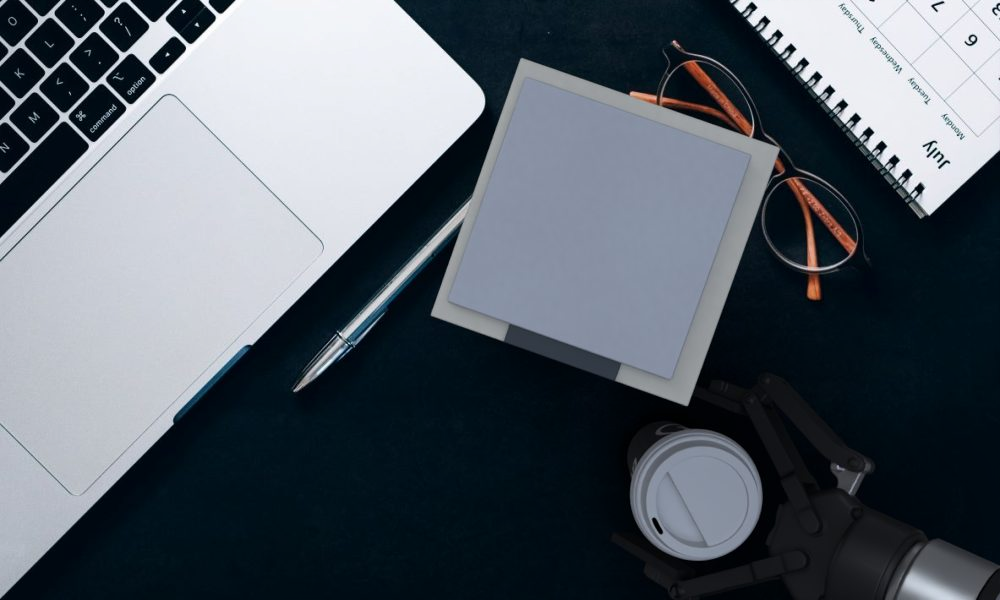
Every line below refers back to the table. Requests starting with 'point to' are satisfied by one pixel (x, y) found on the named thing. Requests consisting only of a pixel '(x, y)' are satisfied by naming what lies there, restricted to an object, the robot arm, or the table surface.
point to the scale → (604, 231)
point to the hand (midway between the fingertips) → (648, 459)
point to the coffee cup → (692, 490)
